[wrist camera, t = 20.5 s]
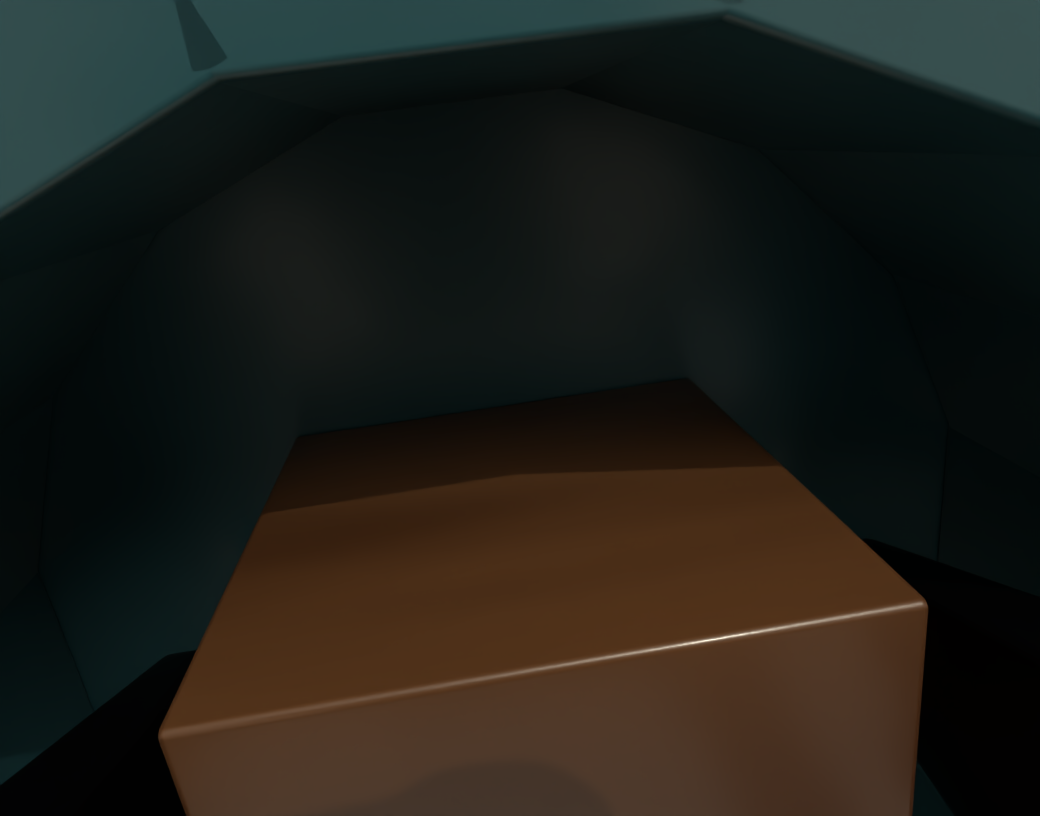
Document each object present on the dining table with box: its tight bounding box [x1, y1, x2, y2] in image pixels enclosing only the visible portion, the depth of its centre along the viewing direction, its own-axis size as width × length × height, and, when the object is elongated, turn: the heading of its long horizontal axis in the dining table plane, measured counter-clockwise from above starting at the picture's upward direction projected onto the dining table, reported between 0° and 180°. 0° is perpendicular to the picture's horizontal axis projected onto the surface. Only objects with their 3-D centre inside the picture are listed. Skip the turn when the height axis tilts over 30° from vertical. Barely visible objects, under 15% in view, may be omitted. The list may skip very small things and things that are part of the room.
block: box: [158, 378, 928, 816], centre depth 8 cm, size 5×5×5 cm
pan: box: [0, 0, 1040, 816], centre depth 8 cm, size 14×19×5 cm
